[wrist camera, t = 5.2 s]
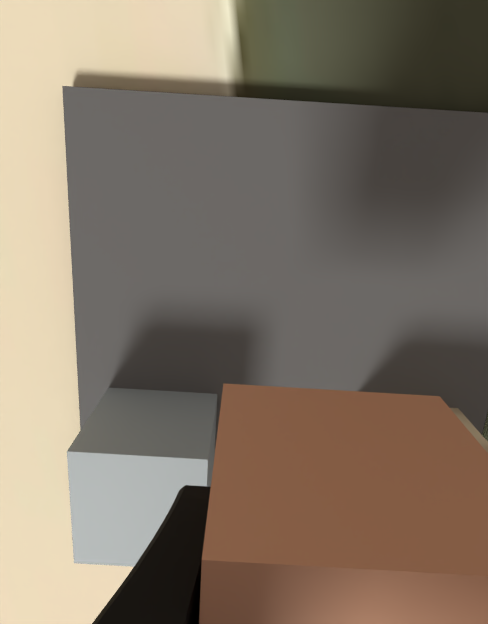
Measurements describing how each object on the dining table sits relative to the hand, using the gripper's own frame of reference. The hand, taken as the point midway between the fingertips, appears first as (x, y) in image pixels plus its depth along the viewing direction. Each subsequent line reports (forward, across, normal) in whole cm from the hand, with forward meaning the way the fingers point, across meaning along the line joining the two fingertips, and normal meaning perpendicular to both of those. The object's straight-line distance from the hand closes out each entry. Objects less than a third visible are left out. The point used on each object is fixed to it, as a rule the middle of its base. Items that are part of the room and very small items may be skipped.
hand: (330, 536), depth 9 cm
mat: (+10, 0, 0) cm, 10 cm away
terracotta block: (+1, 0, 0) cm, 1 cm away
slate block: (+10, +5, +4) cm, 12 cm away
